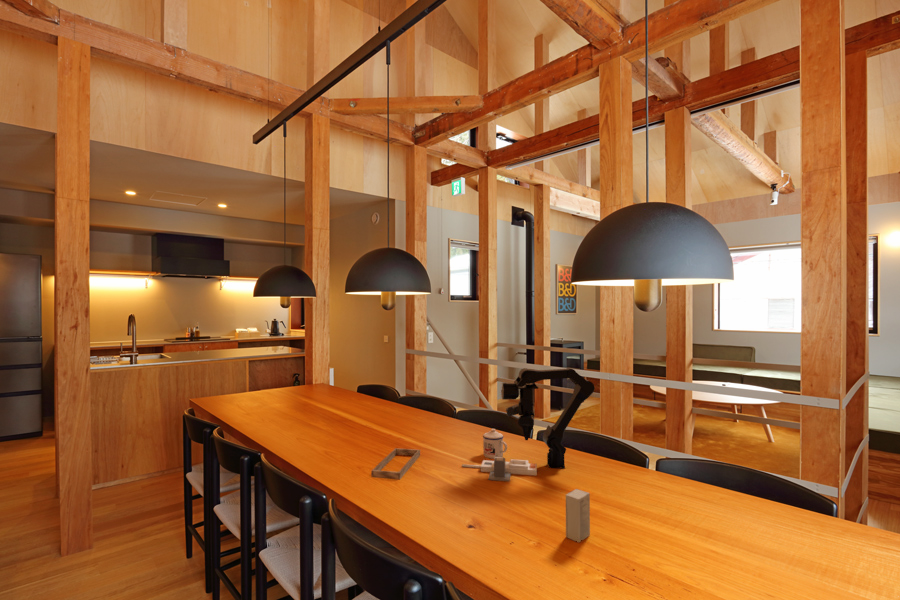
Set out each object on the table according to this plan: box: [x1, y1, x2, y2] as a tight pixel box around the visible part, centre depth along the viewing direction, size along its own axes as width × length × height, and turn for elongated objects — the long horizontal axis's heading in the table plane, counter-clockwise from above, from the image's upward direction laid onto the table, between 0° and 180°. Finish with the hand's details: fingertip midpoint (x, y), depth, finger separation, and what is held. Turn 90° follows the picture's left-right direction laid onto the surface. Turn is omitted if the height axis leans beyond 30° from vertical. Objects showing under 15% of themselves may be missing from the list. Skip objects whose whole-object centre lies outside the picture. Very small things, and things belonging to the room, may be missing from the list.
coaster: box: [487, 471, 512, 482], centre depth 171 cm, size 8×8×1 cm
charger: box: [493, 457, 506, 477], centre depth 171 cm, size 4×4×6 cm
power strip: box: [461, 456, 538, 476], centre depth 179 cm, size 30×8×4 cm, turn 78°
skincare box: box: [565, 488, 591, 543], centre depth 125 cm, size 6×4×12 cm
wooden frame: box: [370, 447, 421, 480], centre depth 183 cm, size 12×29×2 cm, turn 168°
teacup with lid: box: [482, 428, 508, 459], centre depth 195 cm, size 12×9×12 cm
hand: (526, 437), depth 183 cm, fingers open, 9 cm apart
